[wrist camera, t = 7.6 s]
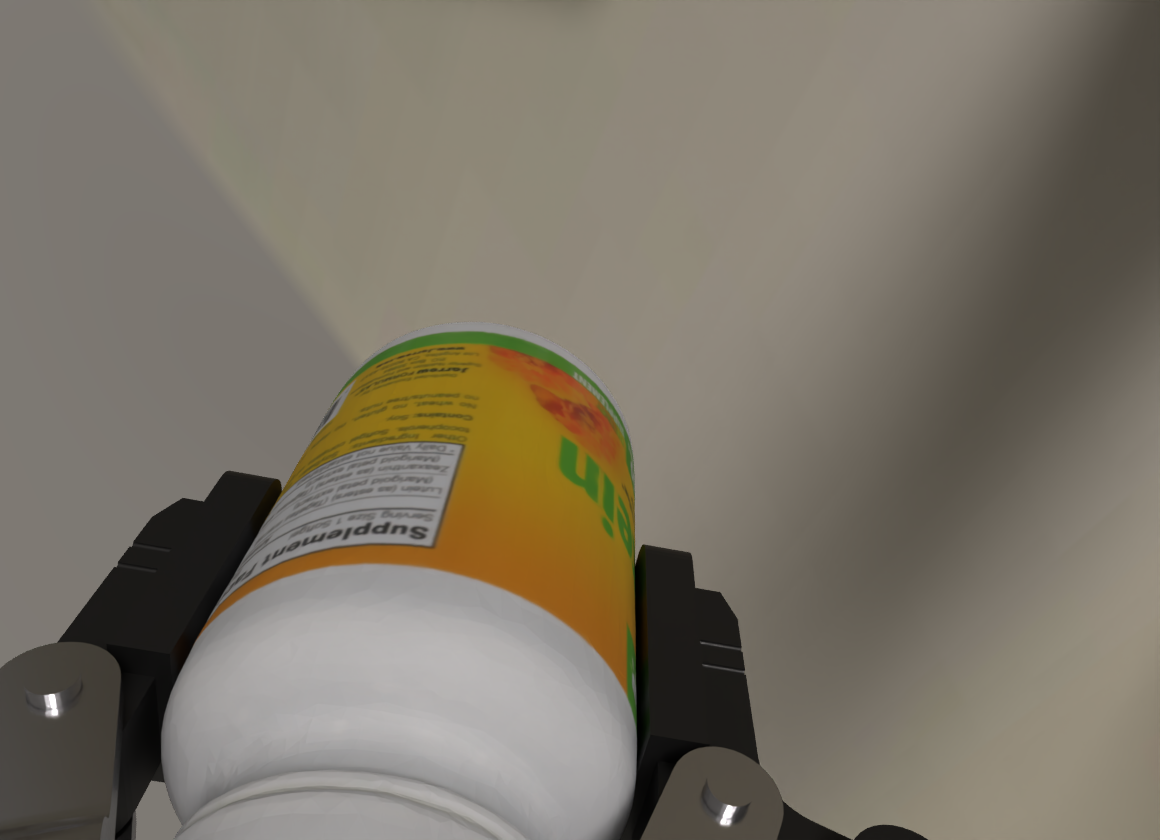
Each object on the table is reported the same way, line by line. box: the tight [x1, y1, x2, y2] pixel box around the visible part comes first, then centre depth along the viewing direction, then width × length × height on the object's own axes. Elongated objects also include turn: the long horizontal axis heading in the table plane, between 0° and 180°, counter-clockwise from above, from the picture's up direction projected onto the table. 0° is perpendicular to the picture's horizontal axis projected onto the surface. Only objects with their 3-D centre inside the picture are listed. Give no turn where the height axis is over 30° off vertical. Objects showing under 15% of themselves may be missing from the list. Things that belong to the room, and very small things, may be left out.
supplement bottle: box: [161, 322, 637, 840], centre depth 12 cm, size 5×5×10 cm
